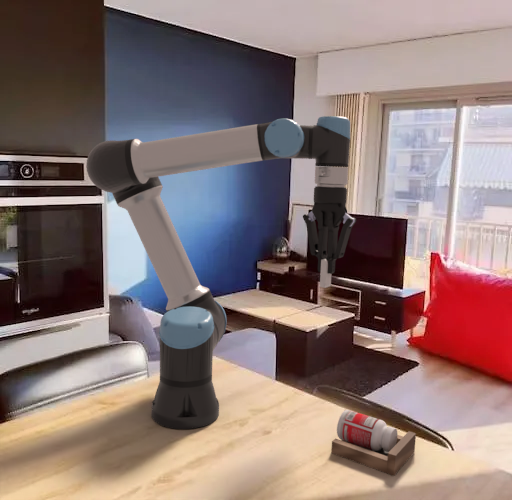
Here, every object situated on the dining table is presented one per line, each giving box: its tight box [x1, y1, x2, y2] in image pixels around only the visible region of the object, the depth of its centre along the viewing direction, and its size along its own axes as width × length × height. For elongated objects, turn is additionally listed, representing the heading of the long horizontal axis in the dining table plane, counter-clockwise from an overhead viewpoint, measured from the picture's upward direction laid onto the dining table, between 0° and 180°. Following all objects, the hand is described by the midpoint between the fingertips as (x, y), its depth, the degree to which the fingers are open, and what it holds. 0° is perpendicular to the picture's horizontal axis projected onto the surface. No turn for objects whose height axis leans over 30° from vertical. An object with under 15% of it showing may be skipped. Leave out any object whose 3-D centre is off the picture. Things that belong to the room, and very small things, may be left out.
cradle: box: [331, 430, 417, 477], centre depth 109 cm, size 13×11×4 cm
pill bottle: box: [336, 409, 398, 452], centre depth 110 cm, size 6×6×11 cm
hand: (325, 286), depth 129 cm, fingers closed
